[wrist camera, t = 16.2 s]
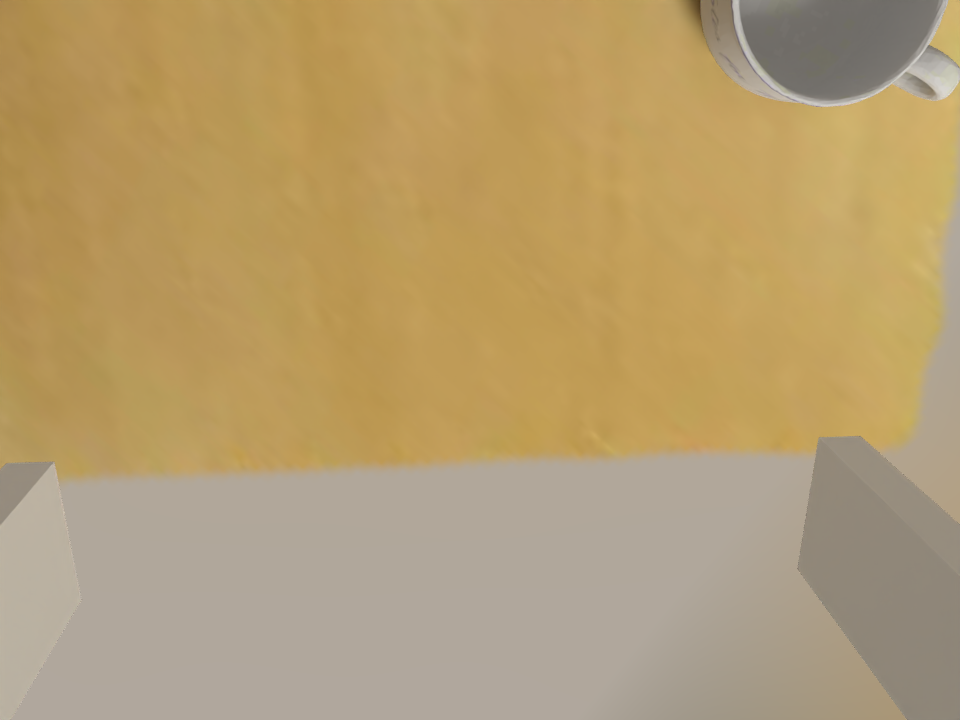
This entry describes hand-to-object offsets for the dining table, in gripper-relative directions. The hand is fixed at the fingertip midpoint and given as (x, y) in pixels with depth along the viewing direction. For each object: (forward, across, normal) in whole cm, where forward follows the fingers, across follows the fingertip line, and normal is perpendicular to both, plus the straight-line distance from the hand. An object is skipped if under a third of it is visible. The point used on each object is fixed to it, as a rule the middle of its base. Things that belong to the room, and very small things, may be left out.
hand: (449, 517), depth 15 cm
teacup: (+37, +21, +9) cm, 43 cm away
